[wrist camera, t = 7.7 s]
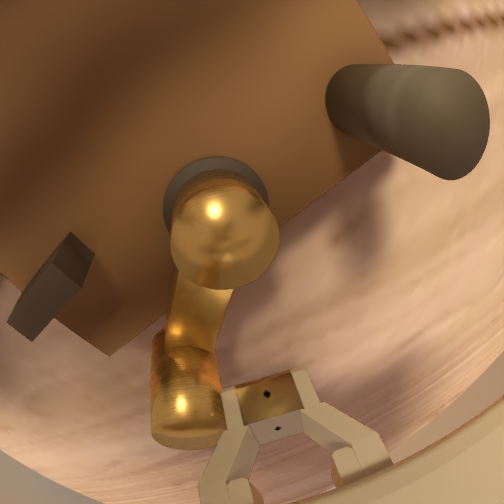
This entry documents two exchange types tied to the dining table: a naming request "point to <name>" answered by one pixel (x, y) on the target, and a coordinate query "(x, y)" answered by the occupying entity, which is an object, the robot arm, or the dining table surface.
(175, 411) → the gold bone
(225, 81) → the stool seat
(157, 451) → the dining table surface
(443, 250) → the dining table surface
